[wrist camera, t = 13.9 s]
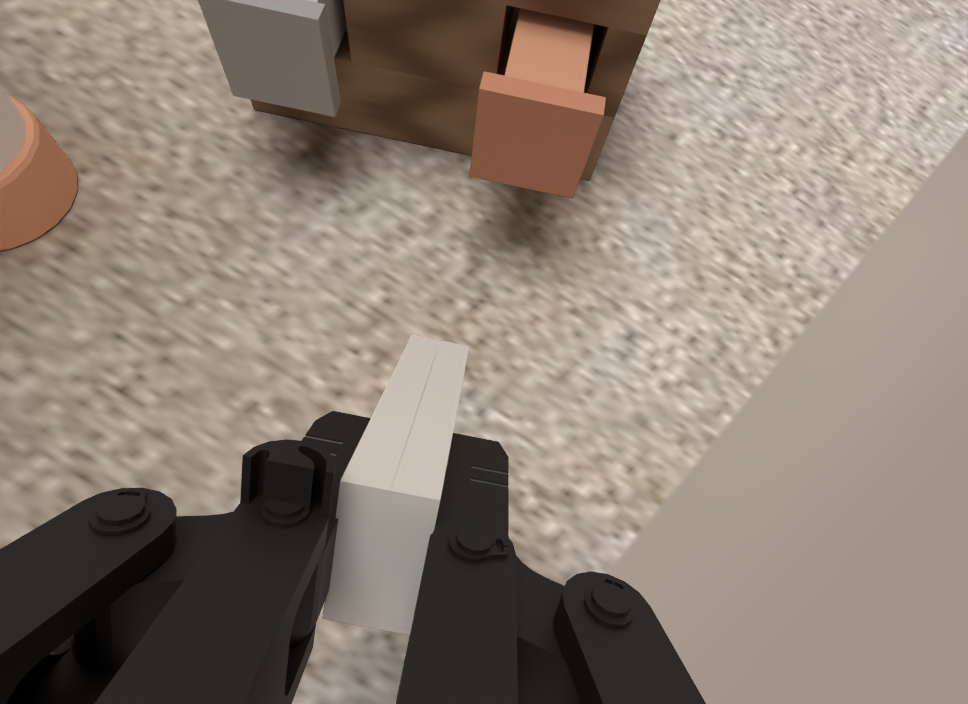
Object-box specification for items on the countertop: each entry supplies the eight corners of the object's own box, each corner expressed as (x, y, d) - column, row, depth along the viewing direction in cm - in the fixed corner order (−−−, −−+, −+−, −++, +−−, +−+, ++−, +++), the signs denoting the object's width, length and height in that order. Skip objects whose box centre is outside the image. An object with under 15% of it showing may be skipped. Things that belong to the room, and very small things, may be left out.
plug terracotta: (469, 176, 27) (479, 88, 22) (514, -9, 33) (529, -108, 28) (572, 198, 27) (603, 115, 22) (599, 10, 33) (627, -87, 28)
